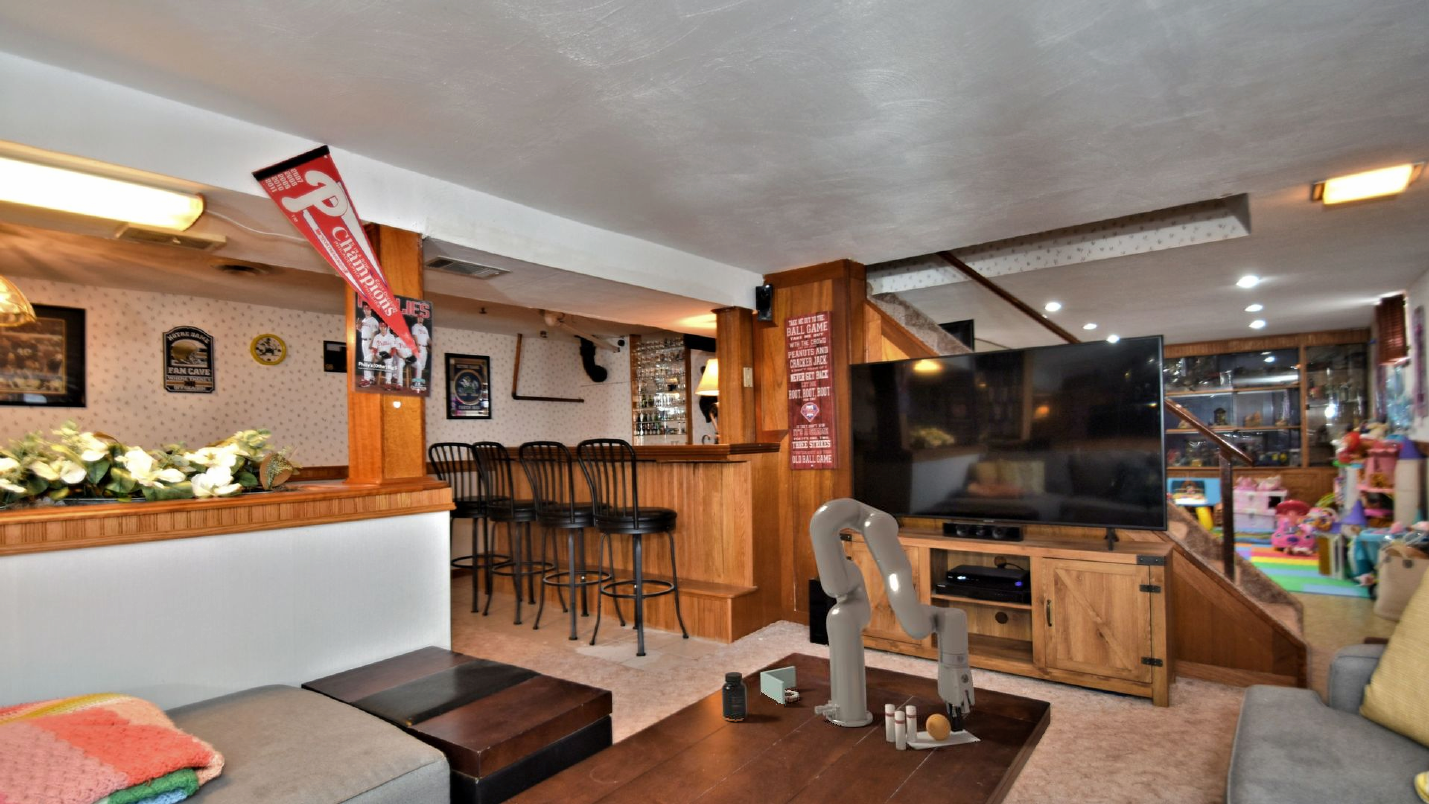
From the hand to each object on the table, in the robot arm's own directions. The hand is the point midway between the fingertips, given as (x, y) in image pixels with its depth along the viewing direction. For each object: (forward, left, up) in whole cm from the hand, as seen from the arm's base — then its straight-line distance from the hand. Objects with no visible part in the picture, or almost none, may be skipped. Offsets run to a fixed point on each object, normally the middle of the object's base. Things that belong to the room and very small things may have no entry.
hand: (956, 730), depth 182 cm
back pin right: (-17, -3, -1) cm, 17 cm away
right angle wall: (-31, +40, -2) cm, 51 cm away
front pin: (-13, 0, -1) cm, 13 cm away
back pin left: (-17, +2, -1) cm, 17 cm away
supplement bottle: (-51, +29, -2) cm, 59 cm away
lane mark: (-5, 0, -1) cm, 5 cm away
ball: (-5, -1, +2) cm, 6 cm away
